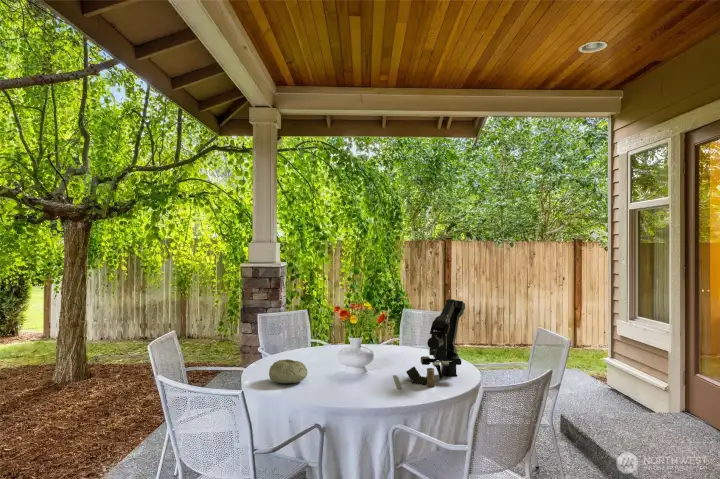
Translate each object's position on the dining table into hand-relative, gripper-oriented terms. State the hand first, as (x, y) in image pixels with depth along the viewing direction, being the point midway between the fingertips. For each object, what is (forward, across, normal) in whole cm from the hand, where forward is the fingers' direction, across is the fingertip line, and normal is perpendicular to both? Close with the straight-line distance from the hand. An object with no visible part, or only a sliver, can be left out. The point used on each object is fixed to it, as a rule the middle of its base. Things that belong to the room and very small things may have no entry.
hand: (440, 378), depth 216 cm
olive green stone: (+1, +72, +2) cm, 72 cm away
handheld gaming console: (+2, +10, 0) cm, 11 cm away
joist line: (+1, +21, +2) cm, 21 cm away
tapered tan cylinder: (+1, +6, +9) cm, 11 cm away
